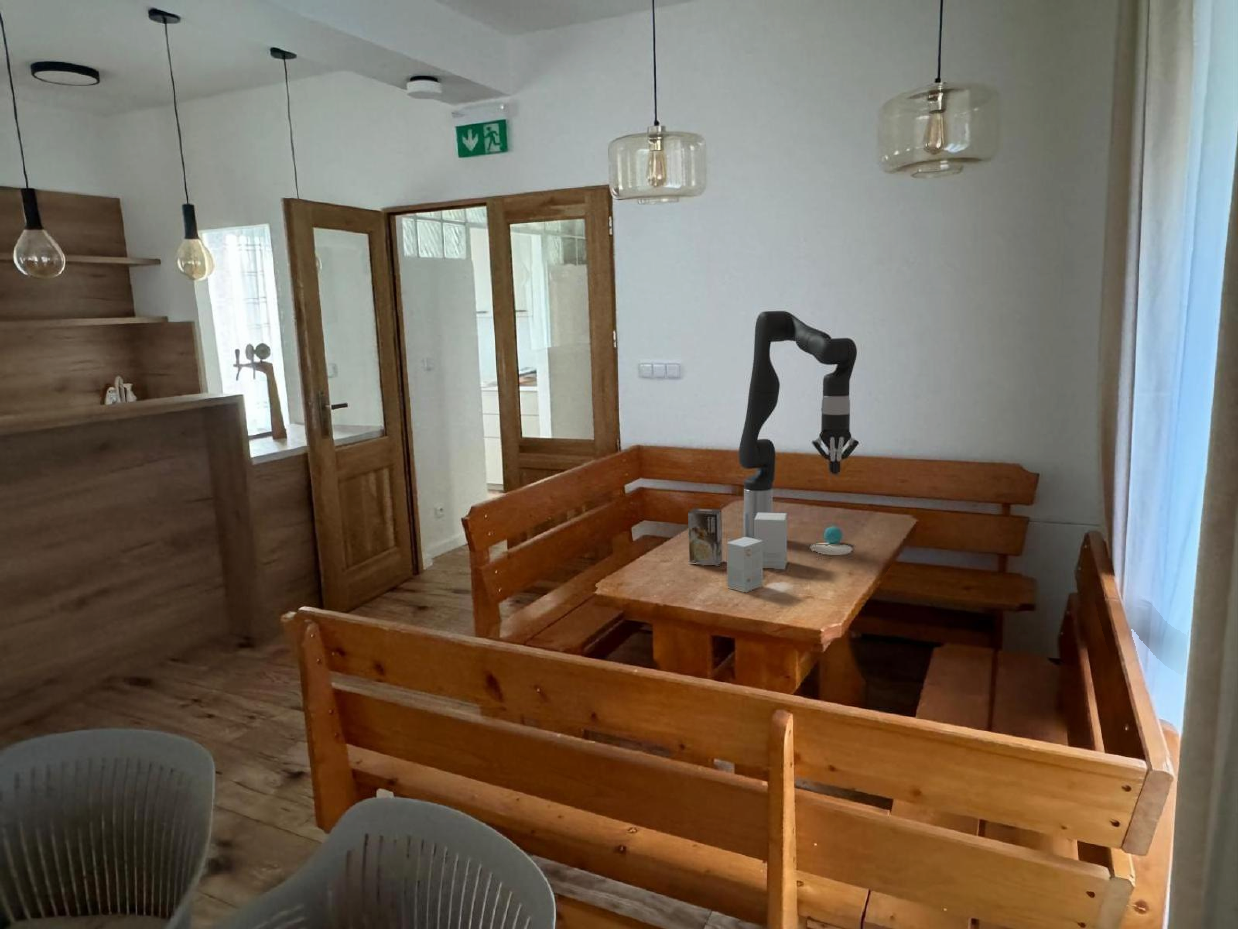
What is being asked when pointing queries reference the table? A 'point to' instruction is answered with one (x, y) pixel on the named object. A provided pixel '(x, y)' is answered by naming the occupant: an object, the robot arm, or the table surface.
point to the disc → (832, 549)
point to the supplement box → (772, 538)
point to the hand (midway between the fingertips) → (834, 473)
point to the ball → (833, 535)
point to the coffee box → (705, 536)
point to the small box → (745, 564)
